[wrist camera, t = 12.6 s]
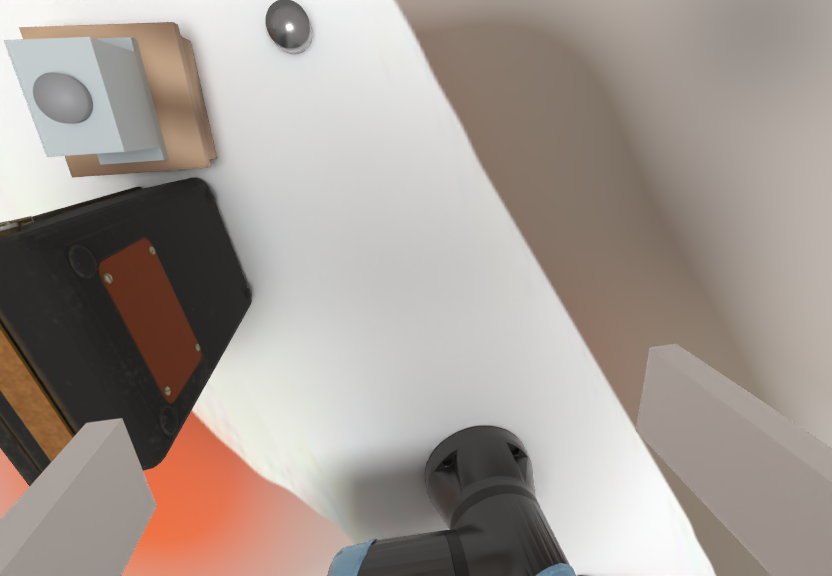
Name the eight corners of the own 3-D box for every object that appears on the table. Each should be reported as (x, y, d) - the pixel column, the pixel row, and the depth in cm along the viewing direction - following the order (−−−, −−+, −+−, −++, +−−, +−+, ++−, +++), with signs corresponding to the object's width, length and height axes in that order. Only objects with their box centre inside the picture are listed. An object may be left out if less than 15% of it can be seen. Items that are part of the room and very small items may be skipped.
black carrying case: (120, 186, 41) (-179, 266, 18) (208, 167, 41) (29, 219, 18) (185, 325, 47) (24, 520, 24) (262, 307, 47) (177, 479, 24)
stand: (223, 162, 41) (207, 167, 37) (104, 171, 40) (72, 177, 36) (194, 35, 37) (172, 22, 33) (61, 39, 36) (19, 27, 31)
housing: (168, 159, 36) (123, 167, 29) (106, 163, 36) (44, 173, 28) (136, 39, 33) (76, 15, 26) (67, 42, 32) (-14, 18, 25)
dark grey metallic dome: (315, 53, 39) (312, 47, 36) (275, 54, 39) (269, 49, 36) (309, 7, 38) (305, -2, 35) (268, 9, 37) (261, -1, 35)
